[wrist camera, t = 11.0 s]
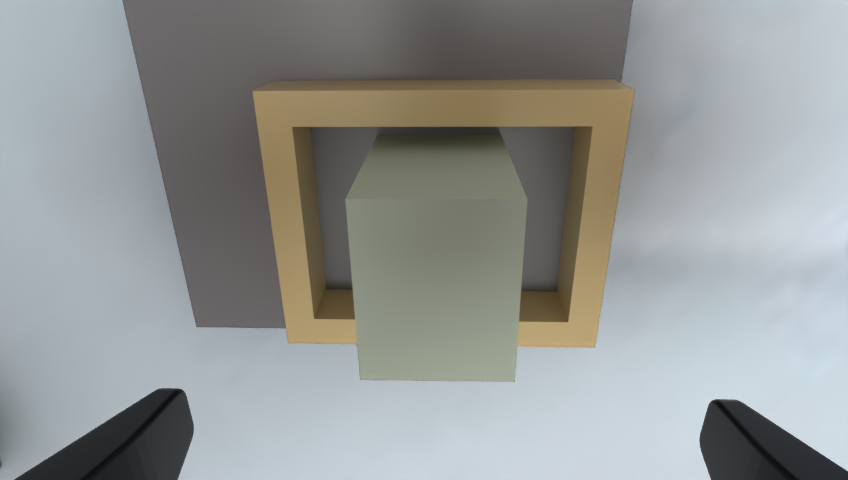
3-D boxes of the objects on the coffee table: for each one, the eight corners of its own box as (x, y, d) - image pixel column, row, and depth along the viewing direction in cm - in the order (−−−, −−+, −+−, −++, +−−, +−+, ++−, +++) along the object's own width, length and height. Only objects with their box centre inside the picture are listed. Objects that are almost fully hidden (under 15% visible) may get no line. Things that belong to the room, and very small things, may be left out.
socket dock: (207, 312, 21) (172, 358, 19) (136, -15, 16) (75, -18, 14) (579, 317, 21) (599, 365, 18) (624, -21, 16) (662, -25, 13)
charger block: (384, 271, 19) (360, 380, 14) (377, 135, 17) (345, 199, 12) (494, 271, 19) (514, 381, 14) (501, 134, 17) (527, 199, 11)
